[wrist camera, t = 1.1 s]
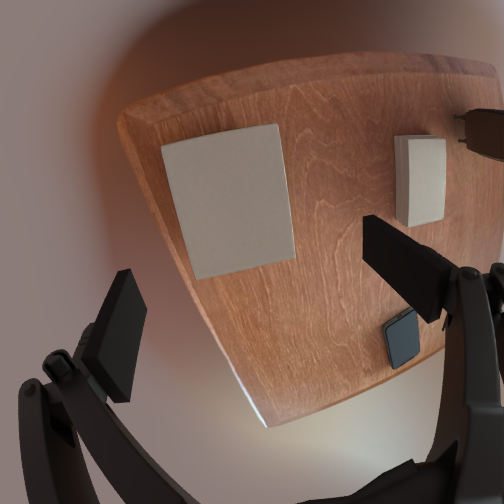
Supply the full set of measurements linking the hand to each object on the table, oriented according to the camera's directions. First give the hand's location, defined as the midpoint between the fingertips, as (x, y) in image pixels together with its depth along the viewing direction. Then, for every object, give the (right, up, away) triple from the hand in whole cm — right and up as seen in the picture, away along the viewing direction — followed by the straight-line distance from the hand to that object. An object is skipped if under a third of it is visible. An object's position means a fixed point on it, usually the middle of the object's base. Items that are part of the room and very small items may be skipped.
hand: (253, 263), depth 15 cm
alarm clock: (+35, +21, +17) cm, 45 cm away
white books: (+23, +11, +19) cm, 32 cm away
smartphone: (+29, -16, +34) cm, 48 cm away
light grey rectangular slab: (-2, +5, +11) cm, 12 cm away
